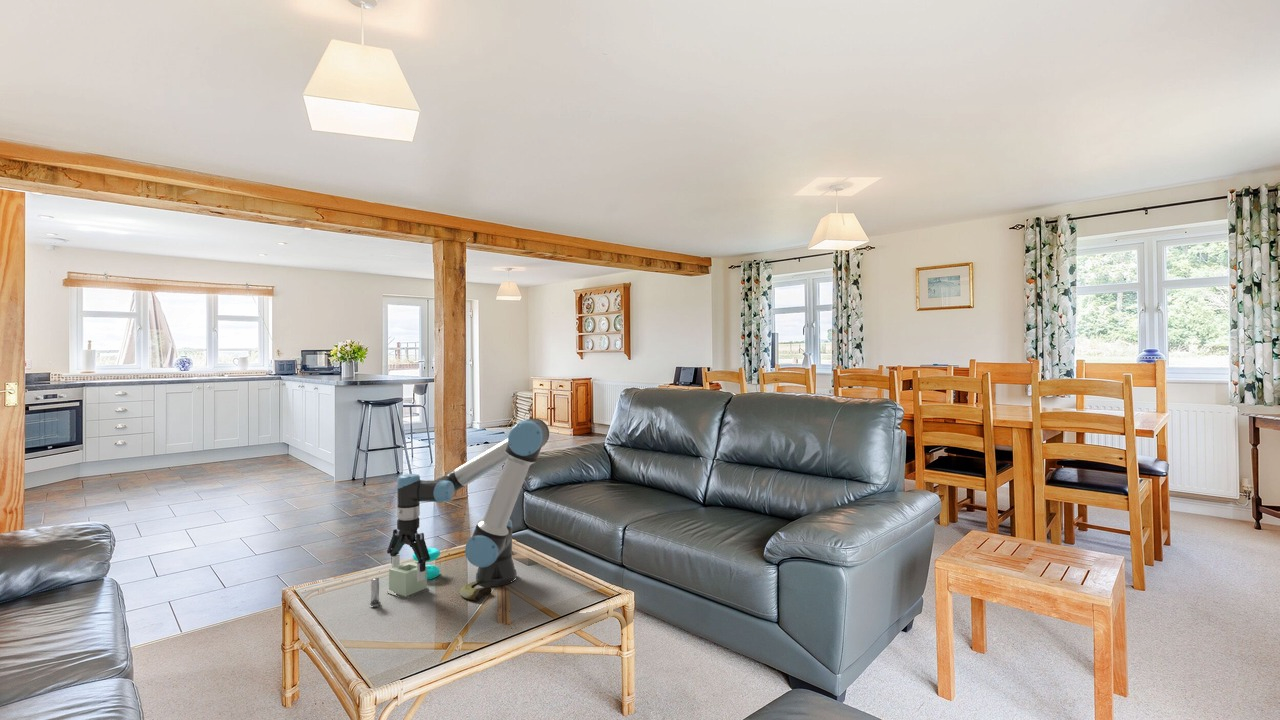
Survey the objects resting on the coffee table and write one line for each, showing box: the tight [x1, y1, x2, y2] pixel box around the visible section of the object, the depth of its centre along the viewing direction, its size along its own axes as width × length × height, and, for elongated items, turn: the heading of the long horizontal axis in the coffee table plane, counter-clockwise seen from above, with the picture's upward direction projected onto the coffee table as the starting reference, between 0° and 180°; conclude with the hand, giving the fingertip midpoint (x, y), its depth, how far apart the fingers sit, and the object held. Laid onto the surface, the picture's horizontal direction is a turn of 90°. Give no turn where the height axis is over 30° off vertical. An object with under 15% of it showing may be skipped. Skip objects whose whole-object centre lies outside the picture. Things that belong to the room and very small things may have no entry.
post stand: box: [369, 577, 382, 608], centre depth 198 cm, size 4×4×9 cm
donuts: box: [412, 547, 441, 580], centre depth 226 cm, size 10×10×10 cm
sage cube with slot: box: [388, 561, 428, 596], centre depth 210 cm, size 9×9×8 cm
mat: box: [396, 587, 430, 600], centre depth 210 cm, size 10×10×1 cm
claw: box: [459, 581, 492, 602], centre depth 210 cm, size 20×10×3 cm, turn 27°
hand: (408, 577), depth 210 cm, fingers open, 13 cm apart
